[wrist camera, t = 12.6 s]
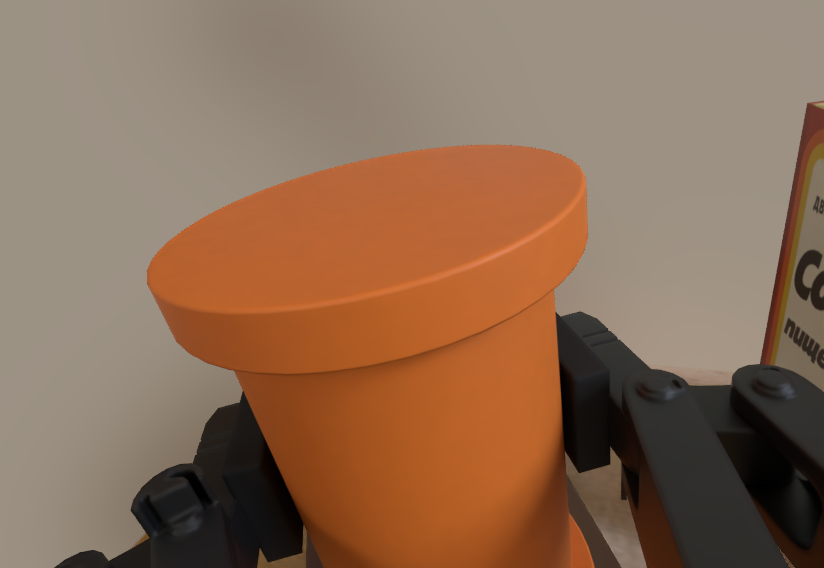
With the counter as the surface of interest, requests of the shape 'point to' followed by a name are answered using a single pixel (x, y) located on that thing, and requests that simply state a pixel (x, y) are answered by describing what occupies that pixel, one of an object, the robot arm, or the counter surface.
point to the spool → (400, 349)
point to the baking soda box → (801, 265)
